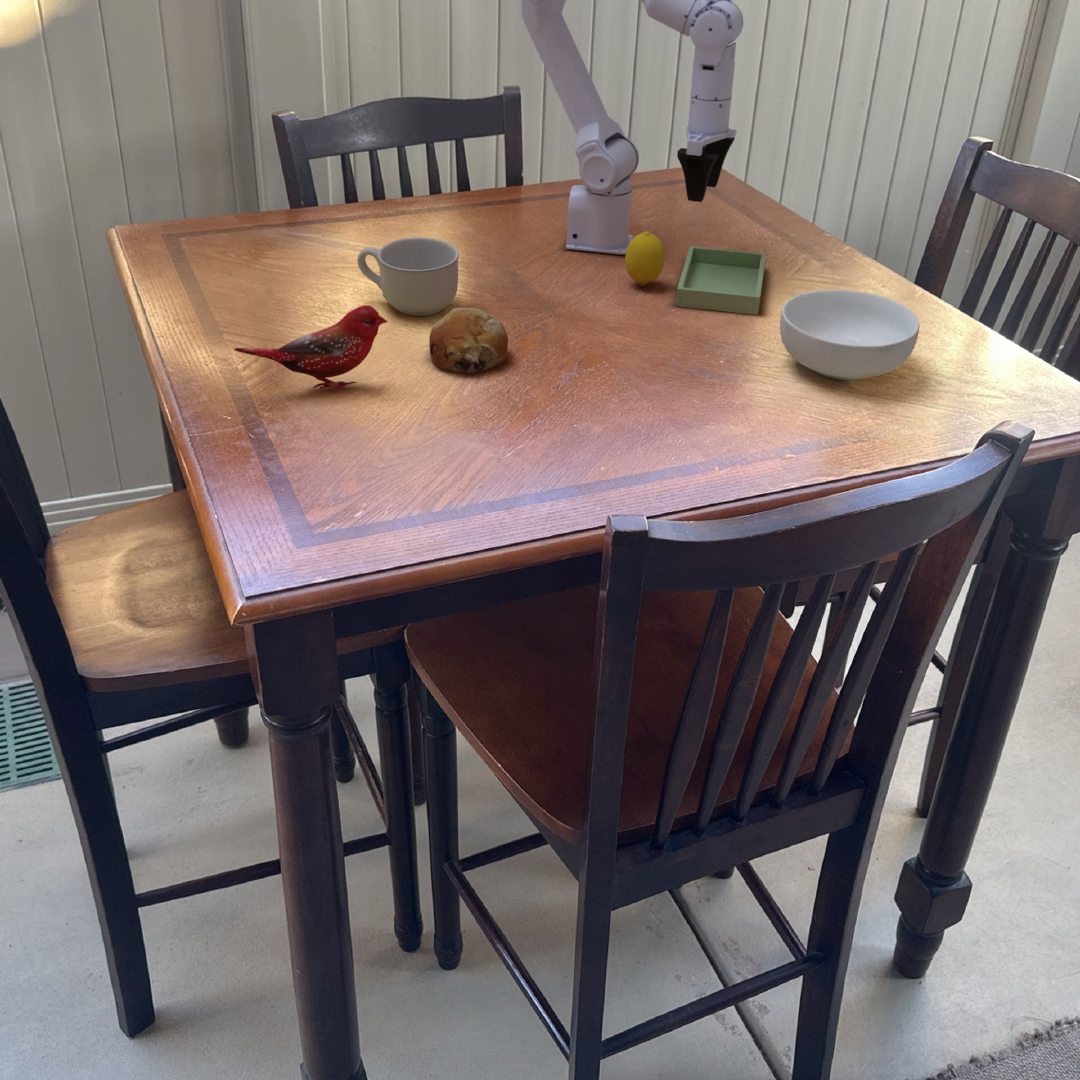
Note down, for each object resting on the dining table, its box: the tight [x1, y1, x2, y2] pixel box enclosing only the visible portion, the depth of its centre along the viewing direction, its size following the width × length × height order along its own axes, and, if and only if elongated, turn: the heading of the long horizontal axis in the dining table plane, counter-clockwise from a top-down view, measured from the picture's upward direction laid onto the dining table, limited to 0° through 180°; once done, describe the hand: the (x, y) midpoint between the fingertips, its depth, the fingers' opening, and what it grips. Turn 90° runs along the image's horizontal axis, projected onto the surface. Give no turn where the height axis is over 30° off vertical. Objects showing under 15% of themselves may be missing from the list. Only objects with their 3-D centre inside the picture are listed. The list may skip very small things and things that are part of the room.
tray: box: [675, 245, 767, 316], centre depth 163 cm, size 11×17×3 cm, turn 168°
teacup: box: [356, 236, 460, 317], centre depth 153 cm, size 14×11×8 cm
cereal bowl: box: [779, 289, 920, 381], centre depth 141 cm, size 17×17×7 cm
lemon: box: [624, 230, 665, 287], centre depth 161 cm, size 6×6×8 cm
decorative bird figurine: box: [233, 304, 388, 389], centre depth 131 cm, size 3×18×10 cm, turn 107°
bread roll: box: [428, 307, 509, 374], centre depth 141 cm, size 10×10×8 cm
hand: (702, 193), depth 166 cm, fingers open, 7 cm apart
